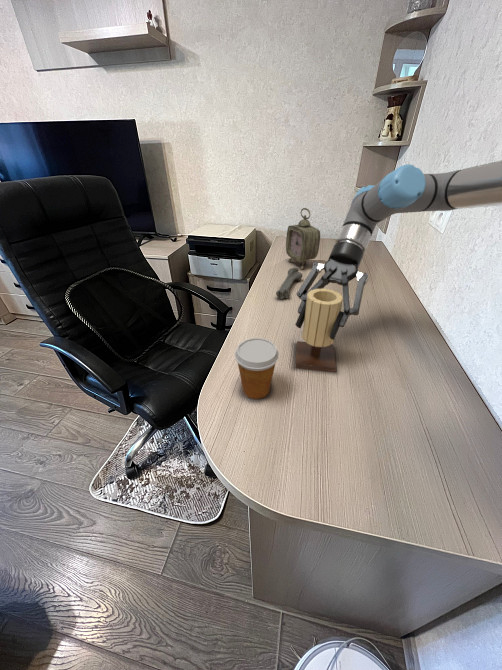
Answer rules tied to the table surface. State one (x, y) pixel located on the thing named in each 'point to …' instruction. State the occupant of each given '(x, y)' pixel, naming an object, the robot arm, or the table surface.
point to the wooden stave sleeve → (321, 316)
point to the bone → (288, 283)
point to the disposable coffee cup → (256, 366)
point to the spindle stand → (315, 357)
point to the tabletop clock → (302, 241)
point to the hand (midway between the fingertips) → (314, 332)
